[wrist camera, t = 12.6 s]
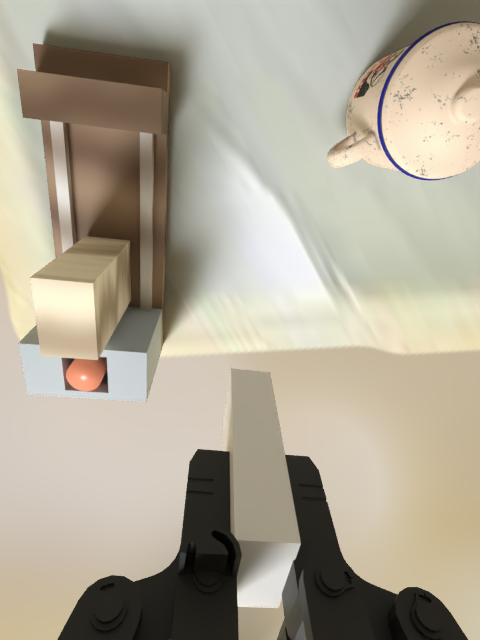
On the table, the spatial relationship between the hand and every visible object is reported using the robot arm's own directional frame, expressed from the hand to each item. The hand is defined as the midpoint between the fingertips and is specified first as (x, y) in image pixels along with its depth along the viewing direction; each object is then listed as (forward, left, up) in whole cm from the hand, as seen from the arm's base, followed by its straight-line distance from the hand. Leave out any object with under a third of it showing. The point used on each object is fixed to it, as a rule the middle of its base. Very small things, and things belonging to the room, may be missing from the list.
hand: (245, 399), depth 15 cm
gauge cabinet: (+10, -11, -25) cm, 29 cm away
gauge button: (+10, -11, -18) cm, 24 cm away
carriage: (+4, -11, -23) cm, 26 cm away
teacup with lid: (-11, +12, -25) cm, 30 cm away
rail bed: (0, -11, -25) cm, 27 cm away
